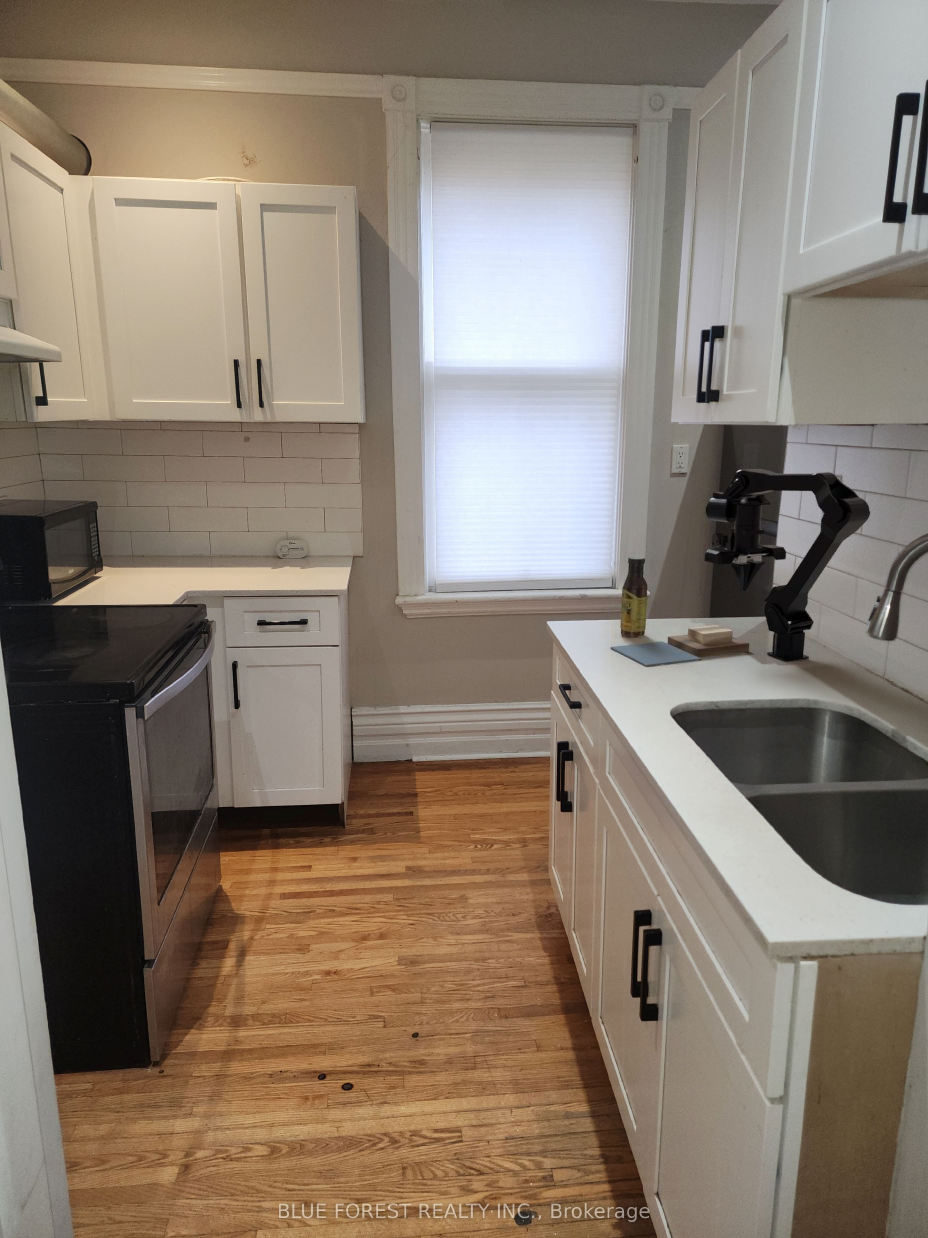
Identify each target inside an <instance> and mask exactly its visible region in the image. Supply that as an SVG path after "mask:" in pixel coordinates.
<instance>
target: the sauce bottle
mask: <svg viewBox="0 0 928 1238" xmlns="http://www.w3.org/2000/svg"><path fill="white" fill-rule="evenodd" d="M645 562H646V557H644V556H639V555H638V556H637V555H633V556H632V555H631V556H629V557H628V559H627V565H628V569H627V575H626V578H625V580H624V582H623V586H622V587H621V601H620V602H621V603H620V604H621V606H620V622H619V623H620V625H619V628H620V635H622V636H624V637H626V638H640V637H641V636H642V637H644V636H645V634H646V627H647V625H646V624H647V608H648V583H647V581H646V579H645V577H644V574H645V573H644V571H645V569H644V568H645ZM642 637H641V638H642Z"/></svg>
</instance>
